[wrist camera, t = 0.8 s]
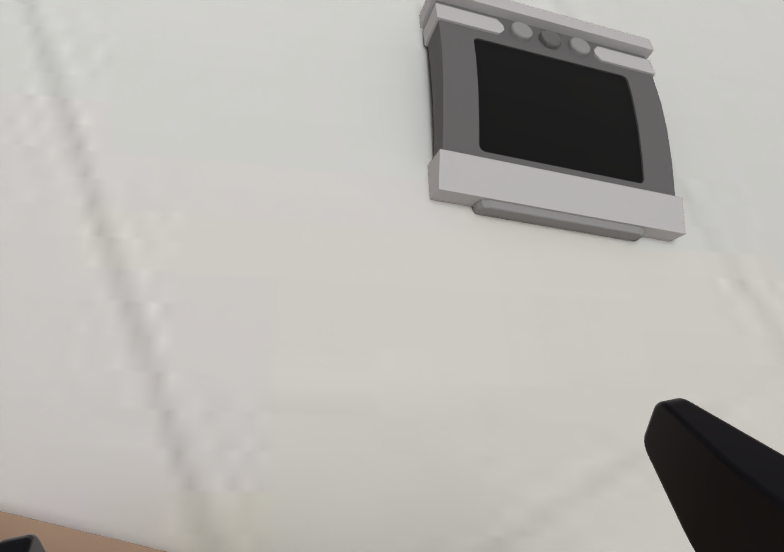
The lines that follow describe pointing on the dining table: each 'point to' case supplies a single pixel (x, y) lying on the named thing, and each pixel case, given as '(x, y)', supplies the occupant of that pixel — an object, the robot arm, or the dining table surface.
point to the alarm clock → (548, 121)
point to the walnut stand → (63, 536)
